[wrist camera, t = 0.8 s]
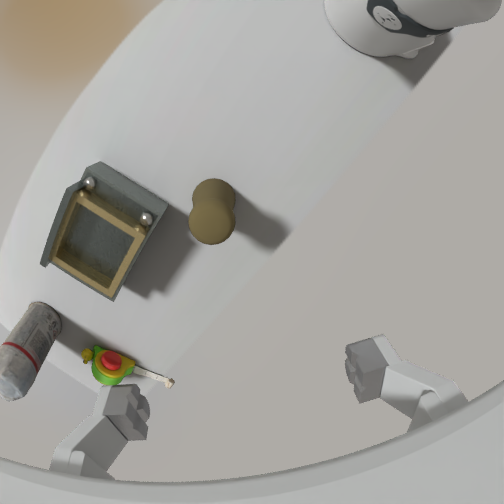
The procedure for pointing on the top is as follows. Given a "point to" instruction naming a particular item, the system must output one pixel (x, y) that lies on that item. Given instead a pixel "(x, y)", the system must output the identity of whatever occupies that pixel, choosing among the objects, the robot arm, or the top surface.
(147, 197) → the grey wooden box
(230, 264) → the top surface
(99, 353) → the toy measuring tape
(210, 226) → the cork
